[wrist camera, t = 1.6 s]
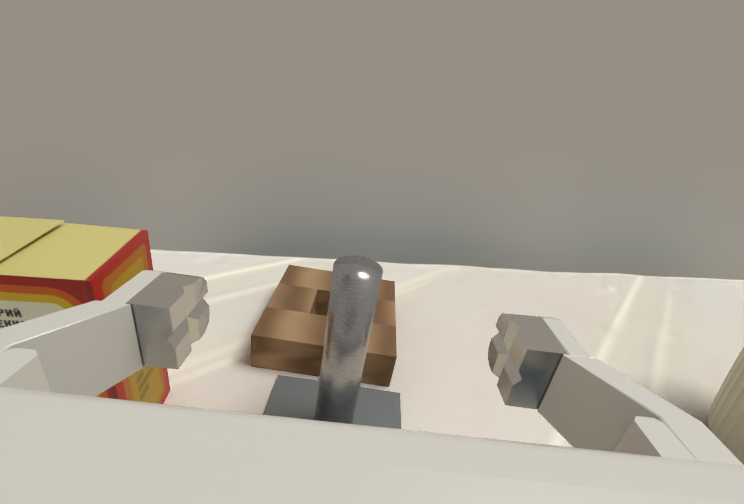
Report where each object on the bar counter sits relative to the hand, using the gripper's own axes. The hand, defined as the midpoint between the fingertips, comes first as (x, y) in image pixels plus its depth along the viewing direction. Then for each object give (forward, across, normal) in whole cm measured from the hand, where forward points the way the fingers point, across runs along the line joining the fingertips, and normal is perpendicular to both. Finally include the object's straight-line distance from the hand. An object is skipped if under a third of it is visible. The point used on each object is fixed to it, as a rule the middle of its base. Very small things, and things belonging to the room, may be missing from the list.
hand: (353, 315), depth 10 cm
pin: (+12, +1, +21) cm, 24 cm away
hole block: (+25, +2, +21) cm, 33 cm away
